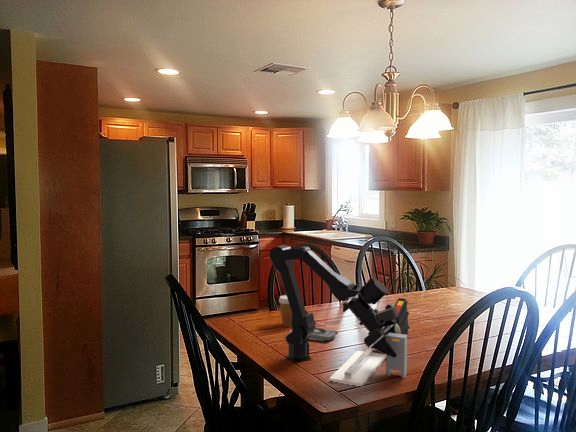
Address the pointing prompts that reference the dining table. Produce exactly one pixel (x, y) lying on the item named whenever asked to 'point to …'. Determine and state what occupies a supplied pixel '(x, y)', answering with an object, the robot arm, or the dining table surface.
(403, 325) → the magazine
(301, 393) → the dining table surface
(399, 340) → the module
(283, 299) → the disposable coffee cup
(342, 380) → the mounting board
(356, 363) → the metal rail
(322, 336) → the graphics card
